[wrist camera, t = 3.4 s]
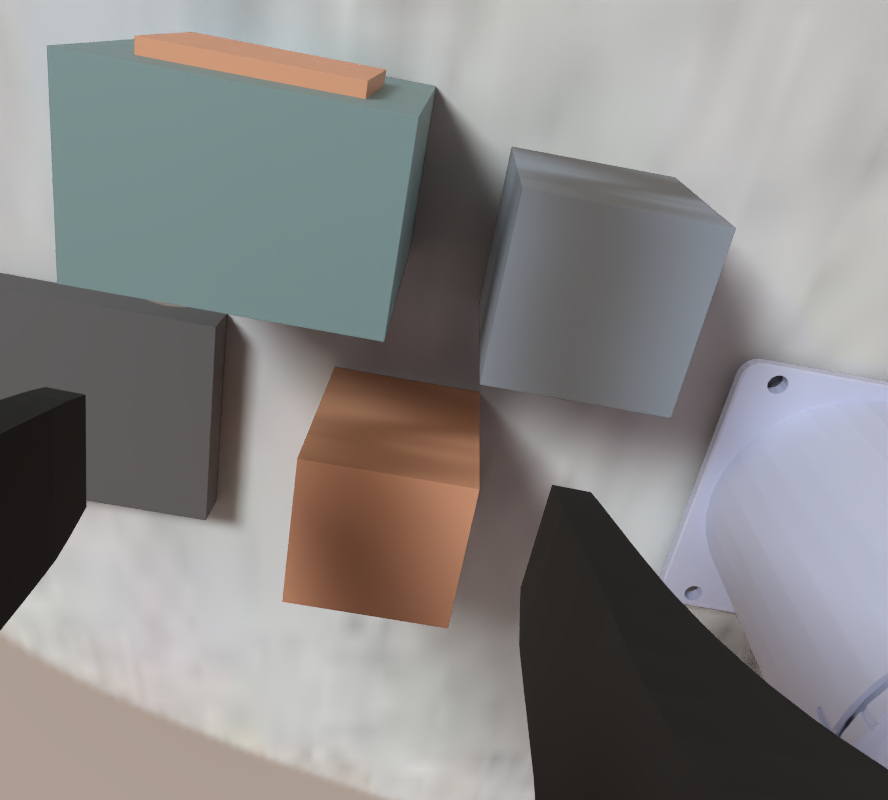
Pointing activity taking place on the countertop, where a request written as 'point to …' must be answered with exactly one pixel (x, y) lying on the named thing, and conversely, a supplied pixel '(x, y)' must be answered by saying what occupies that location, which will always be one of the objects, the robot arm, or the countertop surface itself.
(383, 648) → the countertop surface
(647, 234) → the slate block
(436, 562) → the terracotta block
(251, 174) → the box
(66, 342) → the mat
